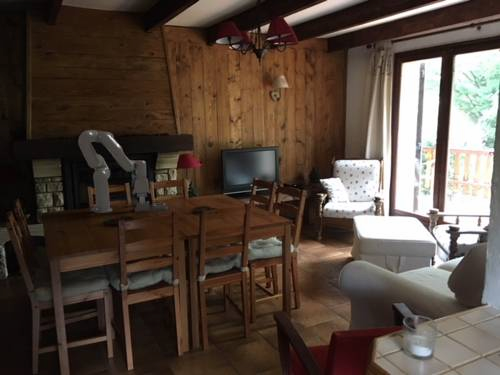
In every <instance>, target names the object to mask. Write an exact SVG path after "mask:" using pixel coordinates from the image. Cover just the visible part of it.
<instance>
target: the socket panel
mask: <svg viewBox="0 0 500 375" xmlns="http://www.w3.org/2000/svg"><path fill="white" fill-rule="evenodd" d="M135 206H136V207H135V208H134V213H142V212H157V211H158V212H159V211H161V212H162V211H168V210H169V206H167V204H166V202H158V203H156V202H155V203H152V206H150V205H149V201H146V202H145V203H139V202H138V201H136V205H135Z"/></svg>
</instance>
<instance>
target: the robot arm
mask: <svg viewBox="0 0 500 375" xmlns="http://www.w3.org/2000/svg"><path fill="white" fill-rule="evenodd" d="M77 142H78V147H79V148H80V151H81V153H82V155H83V157H84V159H85V160H86V162H87V165H88V166H89V167H90V168H91V169H94V172H93V176H92V177H93V184H94V194H95V206H94V207H92V208H91V209H90V210H91V212H94V213H96V214H103V213H110V212H113V208H112V207H111V204H110V190H109V181H108V179H109V178H110V176H111V170H110V168H109V166H108V165H107V163H106V161H105V158H104V157H103V156H102V155H101V154H98V153H97V152H96V150H95V148H94V146H93V145H92V142H93V143H94V142H95V143H100V144H102V145H103V147H105V148H106V149H107V150H108V151H109V153H110V154H111V155H112V157H113V158H114V159H115V161H116V162H117V164H118V165H119V166H120V167H121V168H122V169H123V170H124V171H126V172H127V173H129V172H132V171H135V175H134V176H133V179H134V189H133V191H132V192H131V194H132V195H134V194H135V195H134V196H135V197H136V196H137V197H136V200H137V199H138V200H137V202H138V201H139V193H145V202H146V201H147V196H148V195H149V194H150V193H151V194H152V190H151V188H150V187H149V186H150V185H149V179H148V178H147V162H146V161H145V160H140V159H139V160H133V159H129V158H128V157H127V156H126V154H125V153H124V150H123V147H122V145H120V144H119V142H117V140H116V139H115V137H114V134H113V133H111V132H110V131H103V130H95V129H89V130H84V131H83V132H82V133H80V135H79V137H78V141H77Z"/></svg>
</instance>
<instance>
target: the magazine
mask: <svg viewBox="0 0 500 375" xmlns="http://www.w3.org/2000/svg"><path fill="white" fill-rule="evenodd" d="M139 194H141V193H139ZM133 195H134V196H135V197H136V201H137V202H139V201H138V199H137V196H136V195H135V194H133ZM147 201H149V206H151V205H152V206H153V199H152V192H151V193H150V194H149V195H148V196H147Z"/></svg>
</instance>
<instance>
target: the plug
mask: <svg viewBox="0 0 500 375" xmlns="http://www.w3.org/2000/svg"><path fill="white" fill-rule="evenodd" d="M139 203H145V193H141V194H139Z"/></svg>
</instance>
